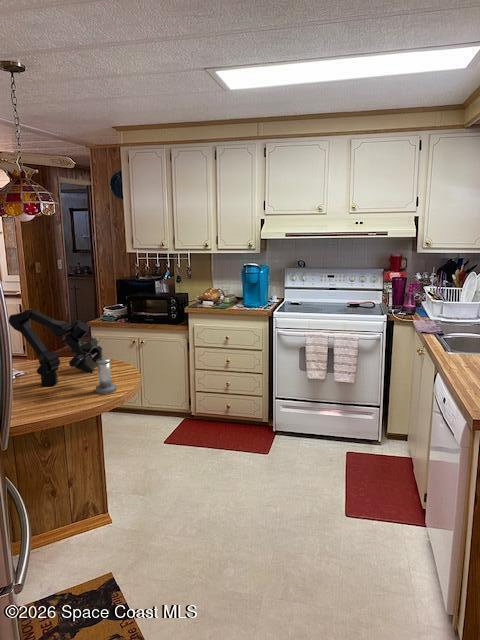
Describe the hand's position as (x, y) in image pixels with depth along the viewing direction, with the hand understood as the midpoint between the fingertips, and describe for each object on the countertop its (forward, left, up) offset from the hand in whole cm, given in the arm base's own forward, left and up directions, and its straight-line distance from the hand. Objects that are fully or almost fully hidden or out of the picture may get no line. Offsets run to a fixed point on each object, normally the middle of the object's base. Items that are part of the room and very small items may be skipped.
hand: (98, 369), depth 214 cm
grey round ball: (-14, +30, -10) cm, 34 cm away
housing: (+3, -1, -8) cm, 8 cm away
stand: (+3, -1, -10) cm, 10 cm away
